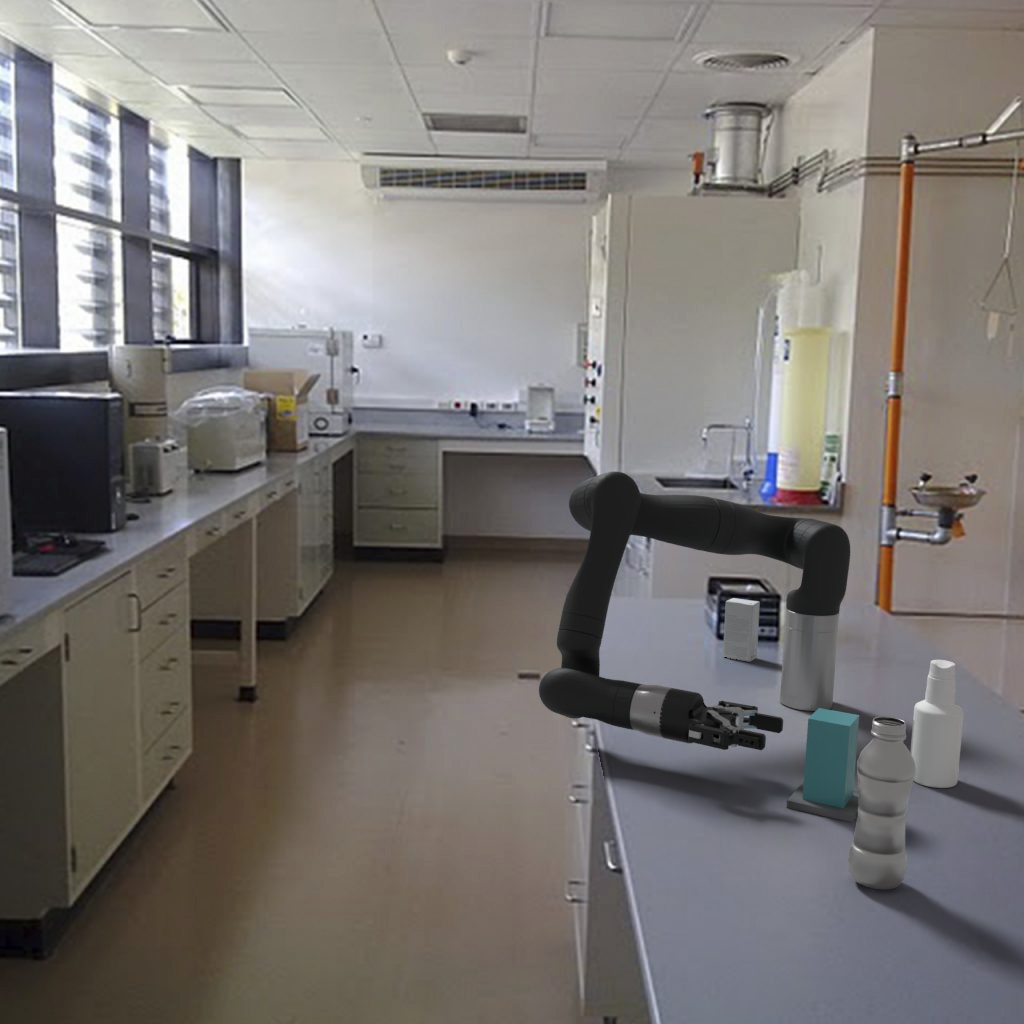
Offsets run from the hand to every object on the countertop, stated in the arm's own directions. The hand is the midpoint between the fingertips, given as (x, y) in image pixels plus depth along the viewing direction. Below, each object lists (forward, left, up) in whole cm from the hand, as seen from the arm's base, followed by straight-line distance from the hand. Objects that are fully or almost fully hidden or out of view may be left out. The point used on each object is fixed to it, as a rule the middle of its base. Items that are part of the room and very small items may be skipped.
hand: (773, 733), depth 159 cm
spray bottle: (-18, +19, -9) cm, 28 cm away
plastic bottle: (+21, +19, -9) cm, 30 cm away
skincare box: (-67, -27, -9) cm, 73 cm away
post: (0, +8, -8) cm, 12 cm away
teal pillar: (0, +8, -7) cm, 11 cm away
